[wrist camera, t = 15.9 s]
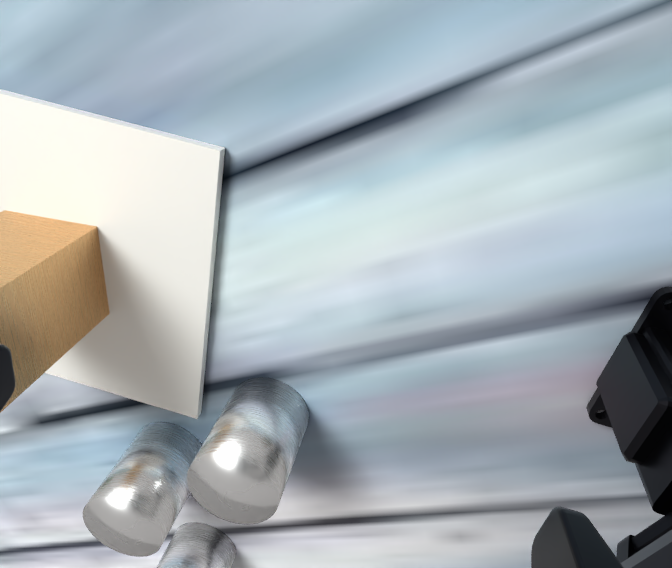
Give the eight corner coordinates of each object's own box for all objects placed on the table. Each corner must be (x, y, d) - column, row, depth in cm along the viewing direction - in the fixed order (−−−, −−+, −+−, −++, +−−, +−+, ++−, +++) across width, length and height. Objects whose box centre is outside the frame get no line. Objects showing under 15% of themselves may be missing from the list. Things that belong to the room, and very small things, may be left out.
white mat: (225, 147, 20) (220, 150, 20) (201, 412, 27) (197, 419, 27) (-60, 73, 21) (-70, 75, 21) (-12, 348, 28) (-19, 353, 28)
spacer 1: (208, 434, 28) (163, 514, 24) (203, 484, 30) (161, 566, 26) (138, 413, 28) (80, 488, 24) (138, 463, 30) (84, 541, 26)
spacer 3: (321, 400, 25) (292, 482, 21) (292, 452, 27) (260, 537, 23) (245, 364, 25) (200, 438, 21) (222, 419, 27) (176, 497, 23)
